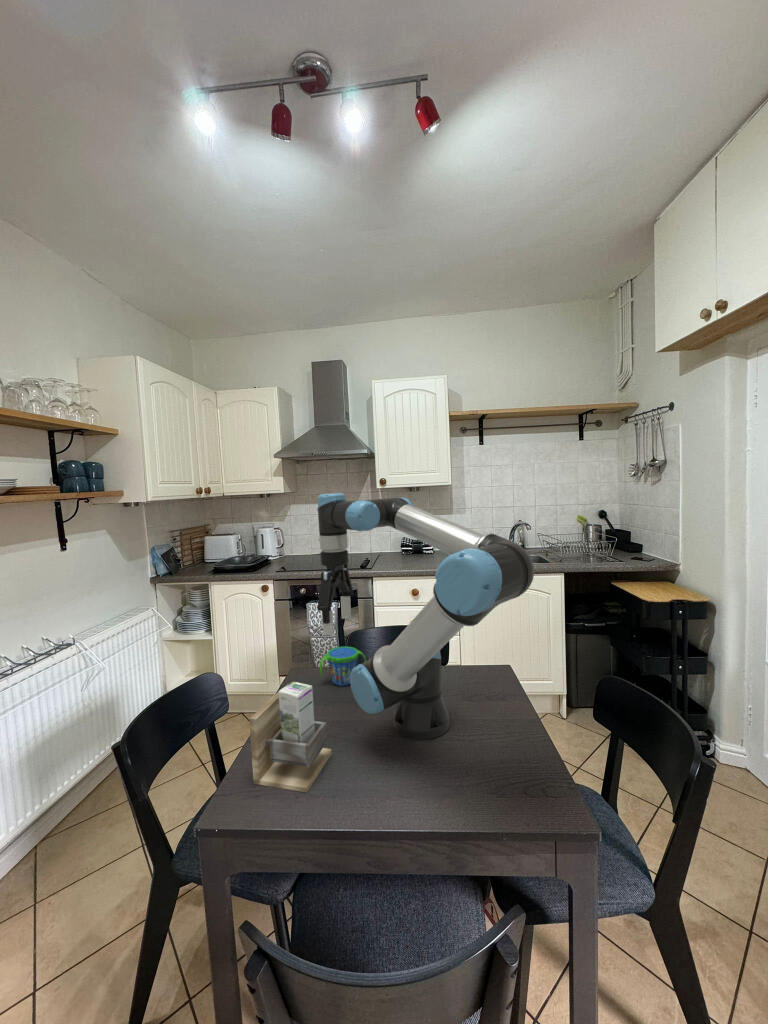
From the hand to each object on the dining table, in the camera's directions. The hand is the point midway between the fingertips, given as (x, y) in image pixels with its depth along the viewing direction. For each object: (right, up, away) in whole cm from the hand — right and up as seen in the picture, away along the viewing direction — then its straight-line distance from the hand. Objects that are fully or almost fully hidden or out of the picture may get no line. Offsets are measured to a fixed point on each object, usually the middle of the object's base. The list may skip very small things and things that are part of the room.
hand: (337, 626), depth 120 cm
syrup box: (-7, -24, -19) cm, 31 cm away
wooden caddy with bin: (-8, -28, -18) cm, 35 cm away
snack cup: (-1, -25, +25) cm, 36 cm away
